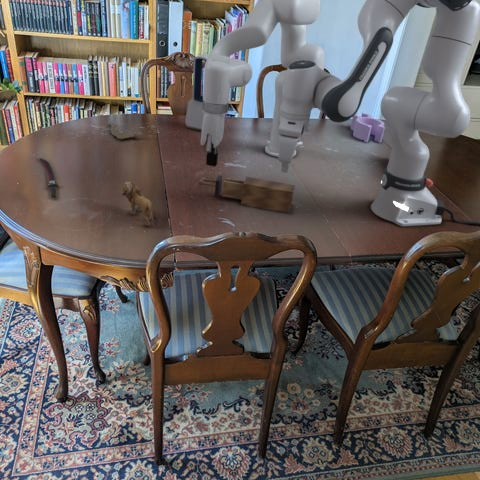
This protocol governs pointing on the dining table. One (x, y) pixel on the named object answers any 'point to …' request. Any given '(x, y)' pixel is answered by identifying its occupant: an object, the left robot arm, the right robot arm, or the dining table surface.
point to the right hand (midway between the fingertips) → (286, 165)
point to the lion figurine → (137, 201)
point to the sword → (52, 181)
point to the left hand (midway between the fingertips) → (211, 164)
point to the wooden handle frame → (225, 187)
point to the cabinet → (267, 194)
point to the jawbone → (122, 135)
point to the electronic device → (196, 96)
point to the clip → (367, 127)
